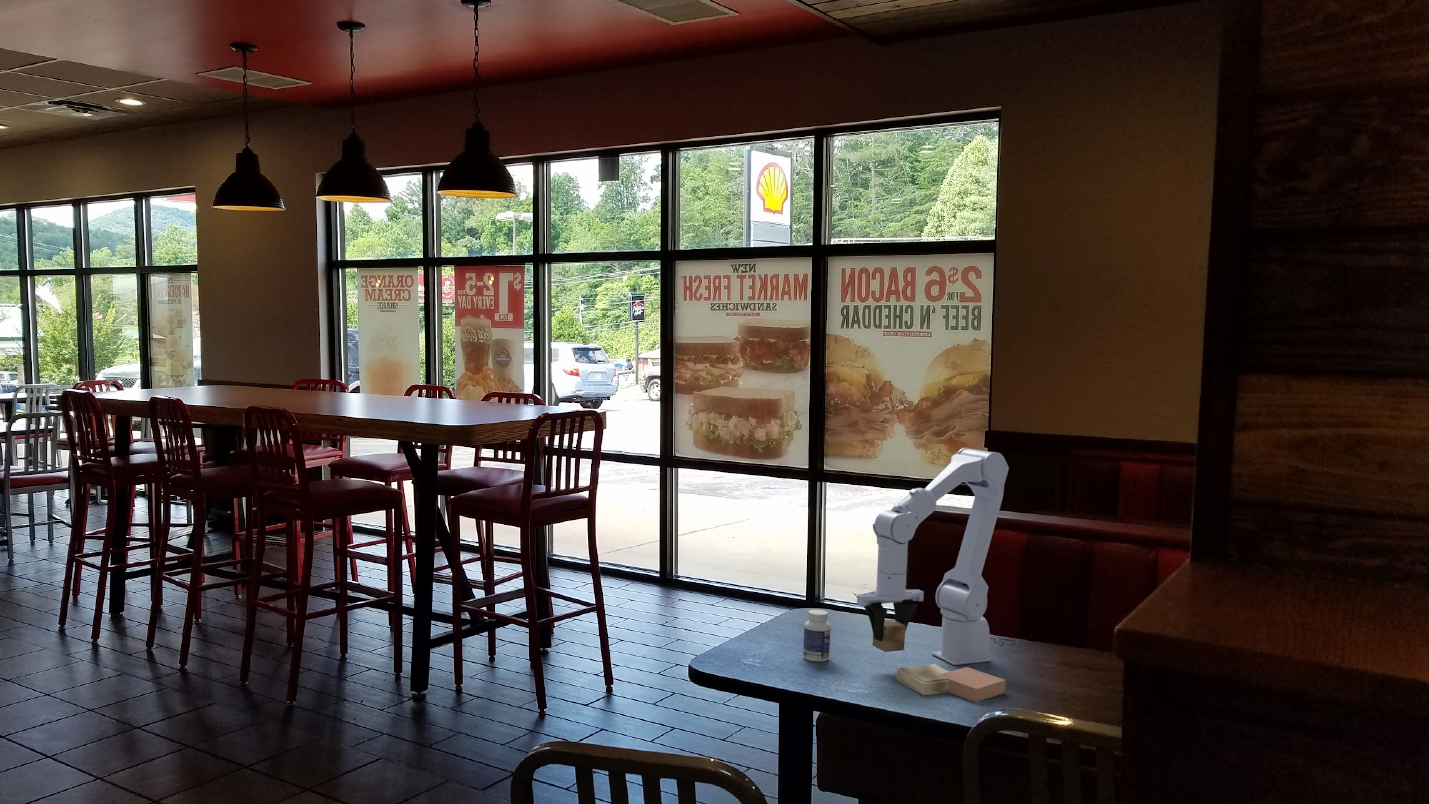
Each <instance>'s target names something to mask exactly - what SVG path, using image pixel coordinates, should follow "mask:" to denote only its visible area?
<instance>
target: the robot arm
mask: <svg viewBox="0 0 1429 804" xmlns="http://www.w3.org/2000/svg"><path fill="white" fill-rule="evenodd" d="M1009 469H1010V466H1008V463H1007V461H1006V458H1005V456H1003V454H1002V453H1000V452H995V451H987V450H979V449H974V448H970V447H962V448H961V449H959V450H958V451H957V452H956V453H955V454H953V455H952V456H951V459H950V463H949V464H948V465H947V466H946V467H945V468H944V469H943V470H941V472H940V473H938V475H937V476H936V477H935V478H933V480H931V482H929V484H927V486H926V487H925V488H922V487H916V488H912V489H910V490H909V492H908V493H909V494H908V495H907V496H905V497H904V498H903V499H901V500H900V501H899V502H898V503H895V504H893V506H892V508H891V510H890V509H888V510H887V509H886V510H883V511H881V512H879V514H878V515H877V516H876V517H875V521H874V523H873V524H872V530H873V532H874V534H875V536H876V544H877V546H878V547H877V548H878V549H877V550H878V551H877V565H876V567H877V568H876V569H877V570H876V571H877V572H876V574H877V575H876V590H874V591H870V592H866V593H859V594H858V593H857V596H856V604H857V605H859V606H860V607H863V608H864V610H865V612H866V614H867V617H868V619H869V622H870V626H871V629H872V637H873V636H874V639H876V640H878V641H882V639H883V628H884V621H885V620H886V616H887V613H888V609H887V608H885V607H884V606H883V605H884V604H893V605H892V606H893V610H894V620H895V621H897V622H899V623H901V624H904V625H905V633H906V632H907V628H908V625H909V623H910V621H911V619H912V617H913V615H914V613H915V612H916V611H917V610H918V609H917V608H918V604H917V603H915V601H918V602H924V596H925V595H924V593H925V592H924V591H923V590H920V589H907V588H906V587H907V586H906V585H907V567H908V565H907V563H908V562H907V561H908V547H909V546H908V545H909V541H911V540H912V539H913V538H914V535H915V533H916V529H917V528H919V525H920V524H921V523H922V522H923V521H924V520H925V519H926V518H928V517H929V516H930V515H931V514H933V512H935V511H936V509H937V501H938V500H940V499H942V498H943V497H944V496H945V495H947V494H948V493H950V492H952V491H953V490H954V489H956V488H957V487H958V486H960V485H961V484H962V483H965V484H966V485H967V486H968V487H969V488H970V489H971V491H972V492H973V495H974V499H973V503H972V506H971V511H970V514H969V516H968V520H967V524H966V528H965V531H964V535H963V539H962V541H961V546H960V550H959V551H958V555H957V559H956V562H955V566H954V567H953V568H952V569H950V570H948V571H947V572H945V573H944V575H943V579H942V581H941V583H939V585H938V587H937V588H936V591H935V603H936V605H937V607H938V608H940V609H939V610H940V614H942V617H941V619H942V620H941V637H940V638H941V639H940V641H941V642H940V650H937V651H936V650H935V651H932V652H931V655H933V656H935V657H937V658H940V659H941V660H943V661H945V662H947V663H949V664H951V665H954V666H958V665H959V666H960V665H967V664H975V663H985V662H990V661H991V658H990V657H989V647H990V644H989V643H990V626H989V623H988V621H987V619H986V617H984V616H983V615H984V614H985V612H986V610H987V606H988V591H989V586H988V584H987V582H986V580H985V579H984V577H983V576H982V573H983V569H984V566H985V562H986V560H987V559H986V558H987V555H988V552H989V548H990V545H991V541H992V537H993V533H994V529H995V526H996V524H997V523H996V522H997V519H998V516H999V512H1000V509H1001V505H1002V501H1003V499H1004V498H1003V497H1004V492H1005V490H1004V489H1005V483H1006V479H1007V477H1008V472H1009ZM963 584H966V585H963ZM882 604H883V605H882Z"/></svg>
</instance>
